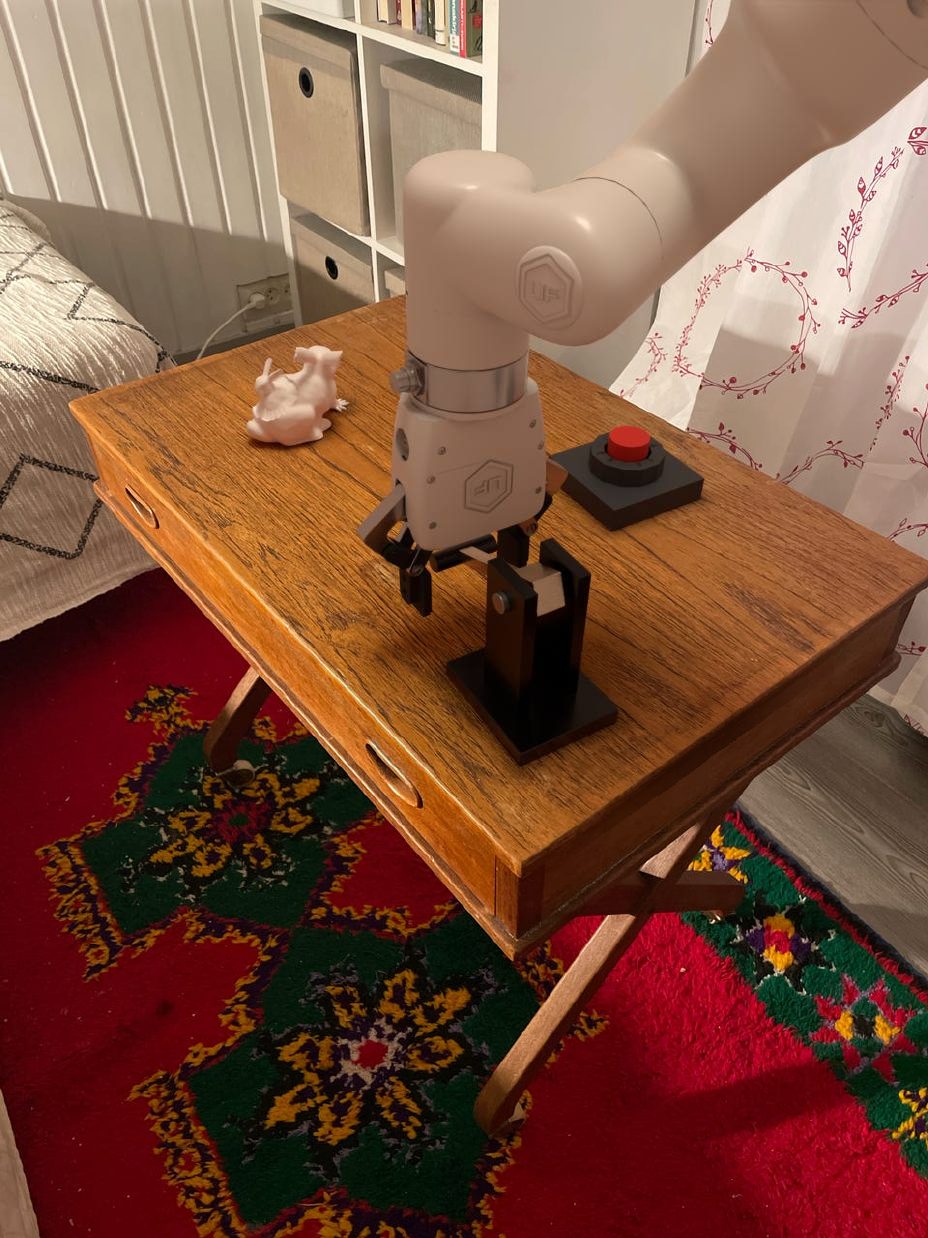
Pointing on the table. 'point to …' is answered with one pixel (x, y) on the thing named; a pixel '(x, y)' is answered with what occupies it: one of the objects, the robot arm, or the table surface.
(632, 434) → the button
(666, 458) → the control block
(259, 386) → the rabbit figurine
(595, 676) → the table surface
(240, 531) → the table surface
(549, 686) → the switch bracket
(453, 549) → the lever
